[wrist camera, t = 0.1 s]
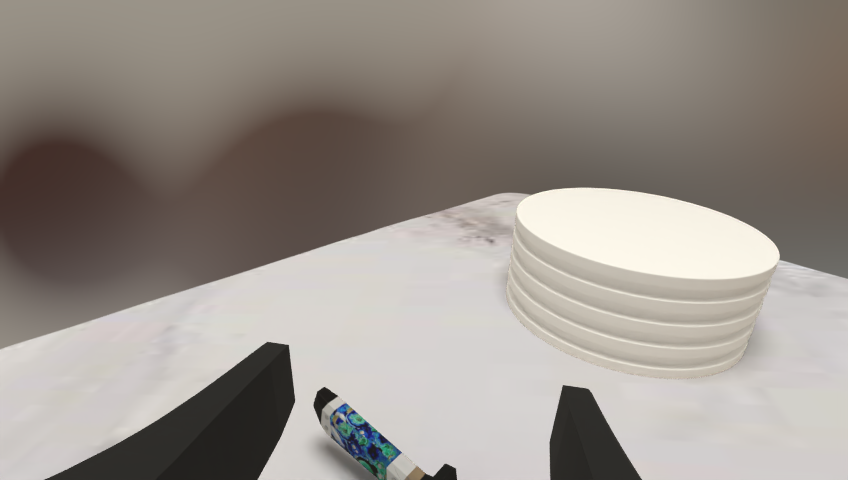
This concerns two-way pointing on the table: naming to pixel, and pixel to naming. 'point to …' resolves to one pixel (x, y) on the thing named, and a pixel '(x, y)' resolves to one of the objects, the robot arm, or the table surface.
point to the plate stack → (638, 280)
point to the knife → (368, 442)
